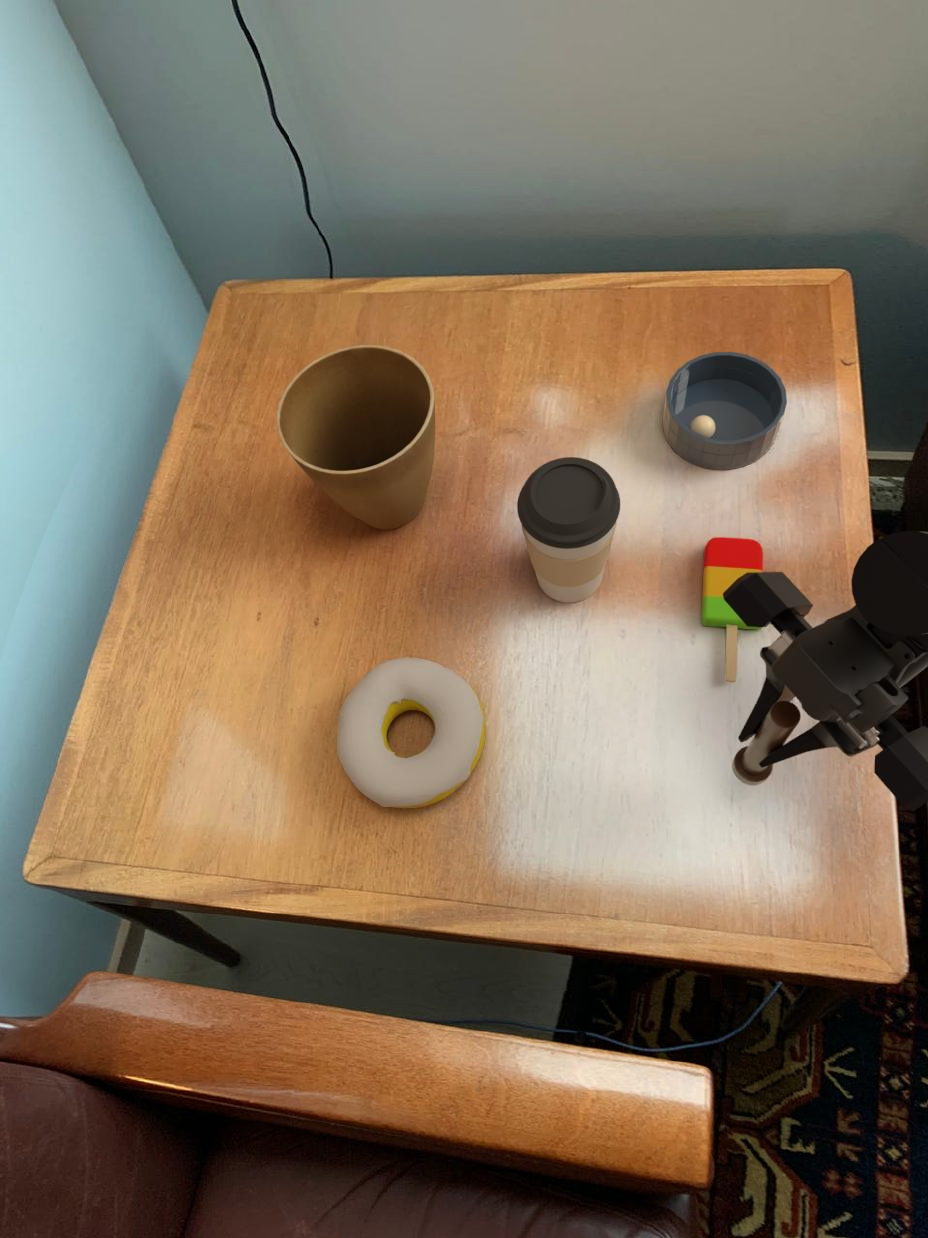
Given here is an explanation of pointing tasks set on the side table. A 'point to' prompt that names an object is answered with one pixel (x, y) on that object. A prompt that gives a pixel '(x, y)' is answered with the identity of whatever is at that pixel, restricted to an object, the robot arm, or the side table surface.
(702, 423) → the ball
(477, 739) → the donut
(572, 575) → the coffee cup
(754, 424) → the bowl
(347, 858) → the side table surface
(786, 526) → the side table surface
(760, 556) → the popsicle
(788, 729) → the stirring stick
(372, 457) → the plant pot
